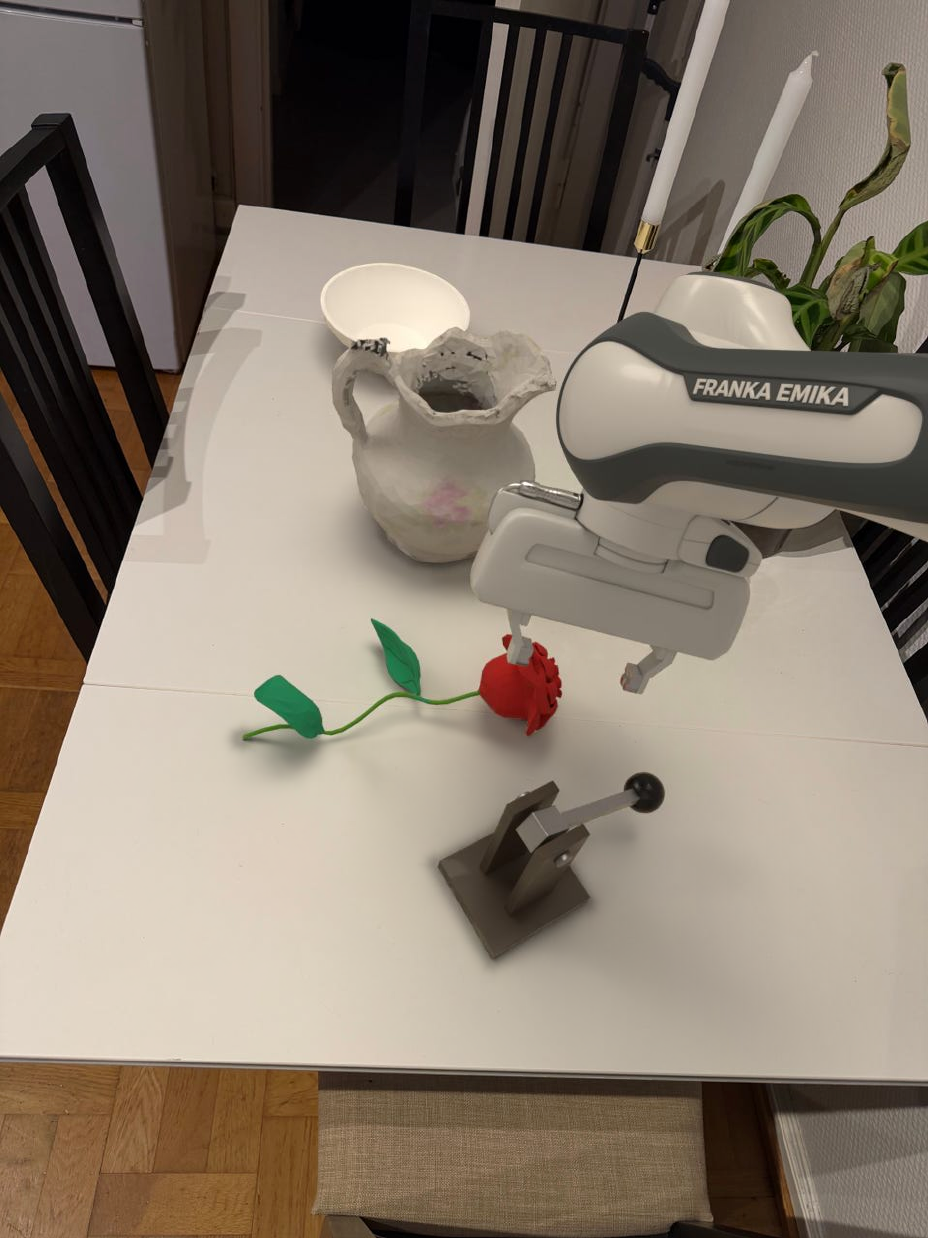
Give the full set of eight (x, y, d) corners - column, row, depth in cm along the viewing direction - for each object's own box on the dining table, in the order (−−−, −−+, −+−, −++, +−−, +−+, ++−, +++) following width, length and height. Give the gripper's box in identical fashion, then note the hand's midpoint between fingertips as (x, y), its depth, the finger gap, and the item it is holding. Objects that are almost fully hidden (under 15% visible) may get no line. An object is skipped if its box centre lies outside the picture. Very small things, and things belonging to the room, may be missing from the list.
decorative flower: (249, 636, 87) (244, 574, 80) (535, 639, 93) (556, 580, 85) (241, 761, 79) (235, 705, 71) (556, 756, 84) (582, 703, 77)
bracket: (530, 816, 80) (567, 744, 69) (586, 902, 76) (635, 840, 65) (437, 866, 76) (461, 798, 65) (492, 959, 72) (527, 903, 61)
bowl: (358, 410, 110) (361, 365, 105) (295, 320, 119) (295, 275, 114) (488, 378, 118) (497, 335, 113) (420, 296, 127) (426, 253, 122)
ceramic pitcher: (351, 608, 93) (373, 445, 72) (310, 470, 102) (319, 291, 81) (535, 577, 100) (604, 419, 79) (481, 450, 109) (530, 280, 88)
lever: (631, 784, 80) (655, 760, 78) (655, 816, 78) (680, 793, 76) (506, 826, 68) (530, 799, 66) (531, 866, 66) (557, 840, 64)
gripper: (505, 486, 57) (446, 664, 63) (784, 563, 61) (704, 726, 66) (497, 459, 63) (443, 625, 68) (752, 532, 66) (681, 684, 72)
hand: (573, 675), depth 67 cm, fingers open, 8 cm apart
